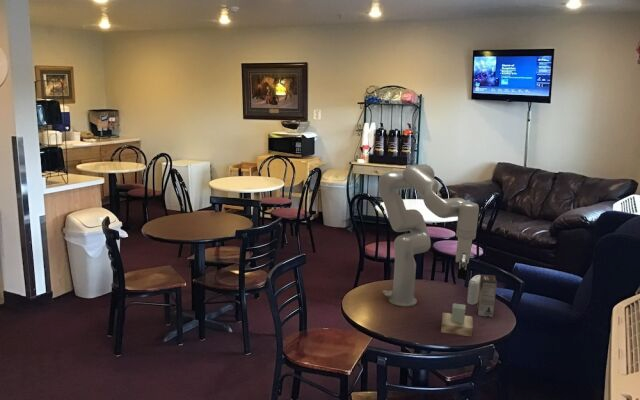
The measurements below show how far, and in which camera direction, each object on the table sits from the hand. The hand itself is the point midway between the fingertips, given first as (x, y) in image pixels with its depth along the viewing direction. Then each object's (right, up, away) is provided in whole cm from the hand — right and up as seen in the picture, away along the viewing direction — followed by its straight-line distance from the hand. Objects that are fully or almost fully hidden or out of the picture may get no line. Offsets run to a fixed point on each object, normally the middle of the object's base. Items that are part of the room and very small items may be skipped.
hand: (461, 274), depth 222 cm
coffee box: (+16, -20, +22) cm, 33 cm away
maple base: (-1, -23, +5) cm, 23 cm away
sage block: (-1, -19, +4) cm, 19 cm away
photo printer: (+15, -17, +34) cm, 41 cm away
